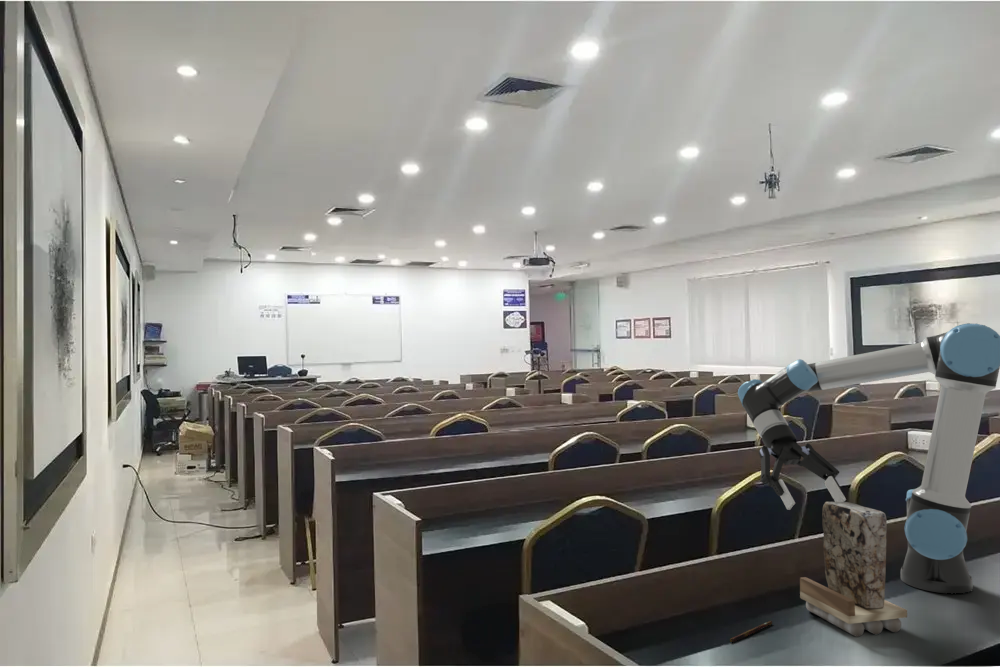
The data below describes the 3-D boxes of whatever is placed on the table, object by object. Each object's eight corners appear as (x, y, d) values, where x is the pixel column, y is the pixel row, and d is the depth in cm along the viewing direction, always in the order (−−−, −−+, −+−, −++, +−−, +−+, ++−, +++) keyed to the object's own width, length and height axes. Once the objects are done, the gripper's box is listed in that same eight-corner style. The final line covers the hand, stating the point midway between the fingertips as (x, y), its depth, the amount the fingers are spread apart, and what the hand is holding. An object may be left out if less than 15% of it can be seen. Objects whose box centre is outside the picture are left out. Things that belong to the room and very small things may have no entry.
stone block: (892, 607, 141) (890, 511, 142) (867, 612, 139) (864, 514, 139) (841, 587, 153) (839, 498, 154) (817, 590, 151) (815, 500, 152)
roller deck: (854, 605, 154) (853, 572, 154) (907, 632, 139) (906, 595, 140) (800, 611, 151) (799, 577, 151) (849, 639, 136) (848, 601, 137)
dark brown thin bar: (731, 644, 135) (731, 639, 135) (729, 644, 135) (729, 639, 135) (772, 625, 144) (772, 620, 144) (770, 625, 144) (770, 620, 144)
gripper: (810, 439, 177) (854, 510, 162) (725, 443, 171) (762, 516, 156) (824, 421, 172) (870, 492, 157) (737, 424, 166) (776, 498, 151)
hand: (817, 504), depth 157 cm, fingers open, 13 cm apart
